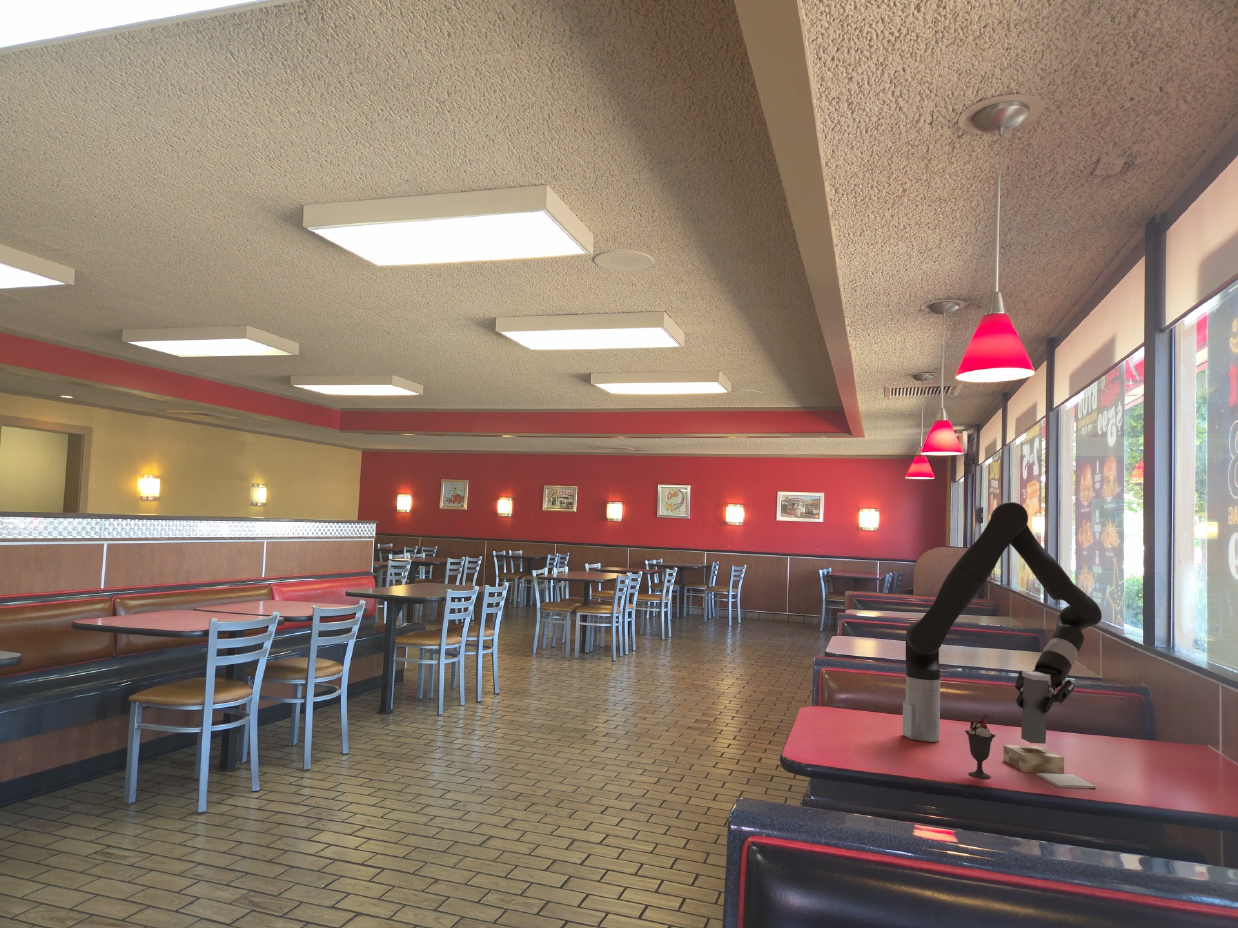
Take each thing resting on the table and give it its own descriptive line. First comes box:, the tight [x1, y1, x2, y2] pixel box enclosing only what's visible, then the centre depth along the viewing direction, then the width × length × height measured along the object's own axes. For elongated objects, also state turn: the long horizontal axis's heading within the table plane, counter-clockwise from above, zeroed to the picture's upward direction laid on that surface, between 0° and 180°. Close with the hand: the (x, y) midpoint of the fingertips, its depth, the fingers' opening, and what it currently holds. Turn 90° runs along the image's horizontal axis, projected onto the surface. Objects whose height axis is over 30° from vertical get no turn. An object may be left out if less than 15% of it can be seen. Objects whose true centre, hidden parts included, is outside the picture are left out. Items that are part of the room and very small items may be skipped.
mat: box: [1035, 772, 1097, 789], centre depth 186 cm, size 9×9×1 cm
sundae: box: [964, 714, 996, 780], centre depth 188 cm, size 7×7×15 cm
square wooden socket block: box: [1003, 744, 1065, 774], centre depth 198 cm, size 10×10×4 cm
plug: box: [1020, 670, 1050, 745], centre depth 199 cm, size 5×5×17 cm
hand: (1030, 708), depth 198 cm, fingers closed on plug, 5 cm apart
